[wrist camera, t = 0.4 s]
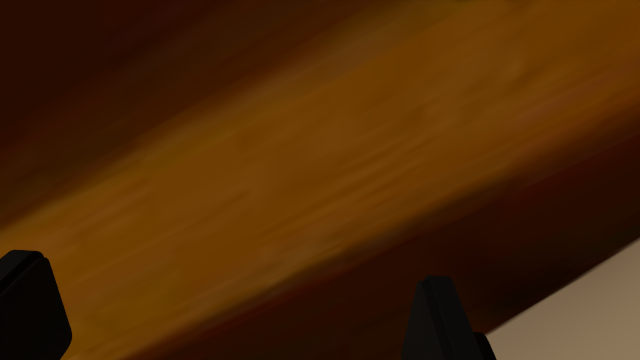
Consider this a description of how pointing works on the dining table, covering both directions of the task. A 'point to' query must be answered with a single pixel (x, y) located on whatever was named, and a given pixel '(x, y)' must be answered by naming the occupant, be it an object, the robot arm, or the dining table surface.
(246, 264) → the dining table surface
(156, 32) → the dining table surface
